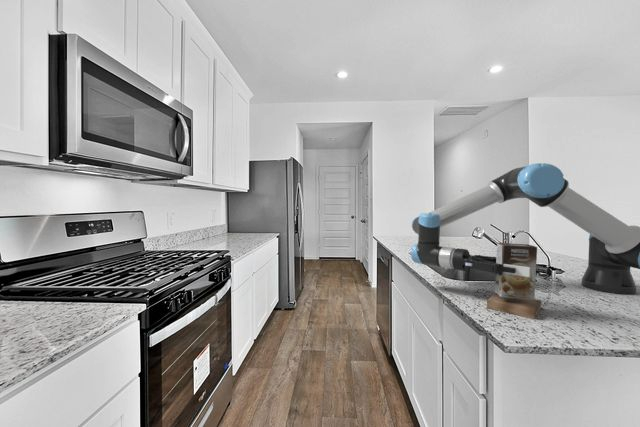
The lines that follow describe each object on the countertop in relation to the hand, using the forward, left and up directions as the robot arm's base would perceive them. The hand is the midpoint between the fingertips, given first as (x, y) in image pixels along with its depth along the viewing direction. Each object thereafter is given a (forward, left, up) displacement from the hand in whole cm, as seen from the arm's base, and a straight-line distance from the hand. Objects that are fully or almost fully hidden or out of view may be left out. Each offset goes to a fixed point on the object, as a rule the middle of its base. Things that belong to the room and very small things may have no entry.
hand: (532, 269), depth 88 cm
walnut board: (+4, 0, -13) cm, 14 cm away
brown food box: (+5, 0, -9) cm, 10 cm away
